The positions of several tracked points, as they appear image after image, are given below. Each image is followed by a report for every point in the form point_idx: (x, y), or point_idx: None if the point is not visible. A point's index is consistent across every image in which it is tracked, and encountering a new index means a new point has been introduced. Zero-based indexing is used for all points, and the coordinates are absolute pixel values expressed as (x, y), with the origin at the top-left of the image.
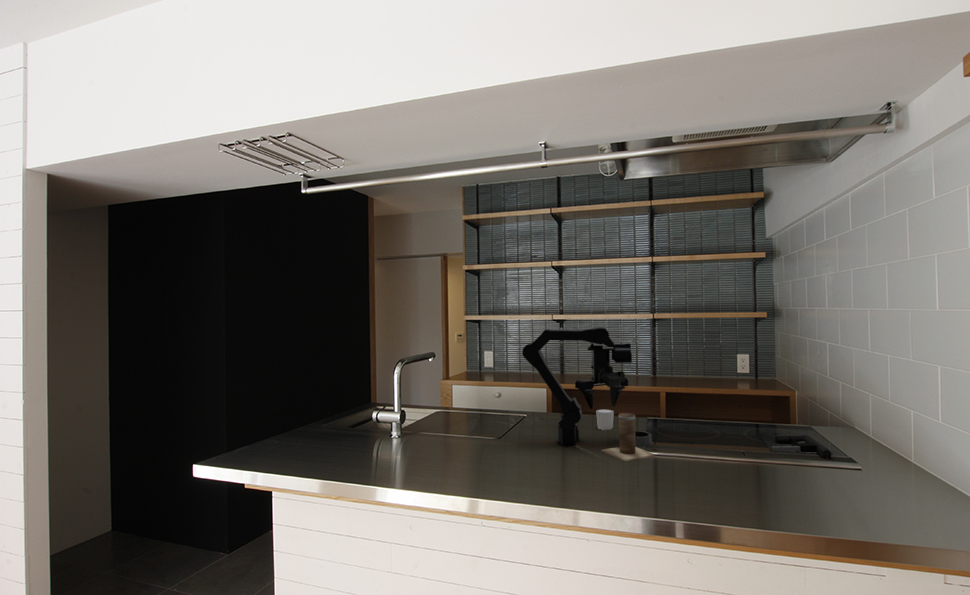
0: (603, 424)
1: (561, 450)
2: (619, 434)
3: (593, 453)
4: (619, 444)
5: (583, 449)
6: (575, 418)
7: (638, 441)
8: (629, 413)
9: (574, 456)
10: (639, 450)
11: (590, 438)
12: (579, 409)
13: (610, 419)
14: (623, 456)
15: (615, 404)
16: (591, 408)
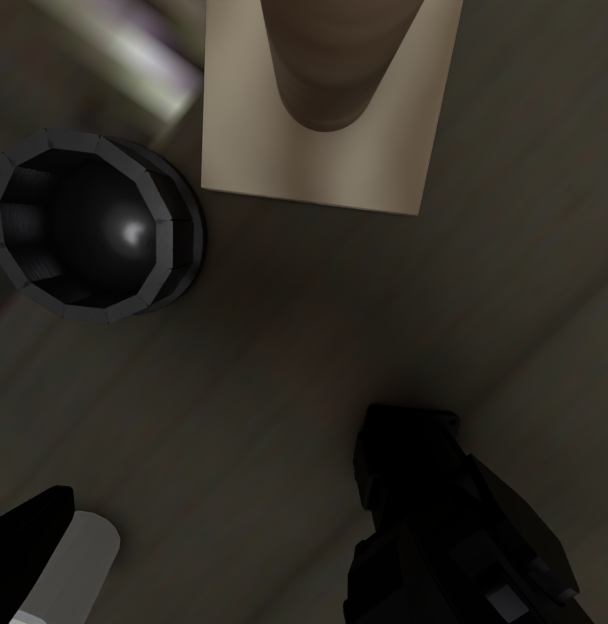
0: (92, 550)
1: (513, 377)
2: (402, 40)
3: (430, 252)
4: (371, 95)
5: (417, 334)
6: (504, 505)
7: (145, 164)
8: None
9: (545, 265)
10: (238, 56)
11: (255, 455)
12: (511, 584)
13: None
14: (422, 6)
15: (26, 501)
16: (424, 527)
